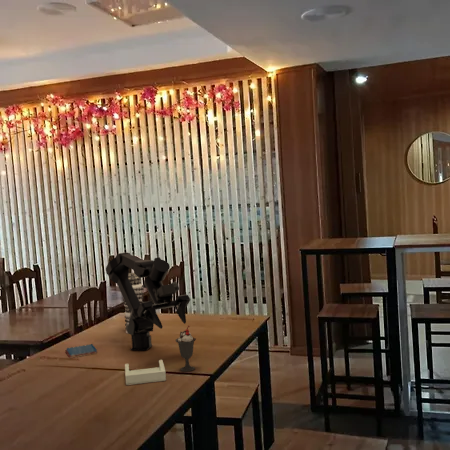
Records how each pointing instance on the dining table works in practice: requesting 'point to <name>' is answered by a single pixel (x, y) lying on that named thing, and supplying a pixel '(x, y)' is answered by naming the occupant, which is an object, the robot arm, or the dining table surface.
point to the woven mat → (81, 351)
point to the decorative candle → (137, 288)
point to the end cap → (145, 374)
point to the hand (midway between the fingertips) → (173, 325)
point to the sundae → (186, 348)
